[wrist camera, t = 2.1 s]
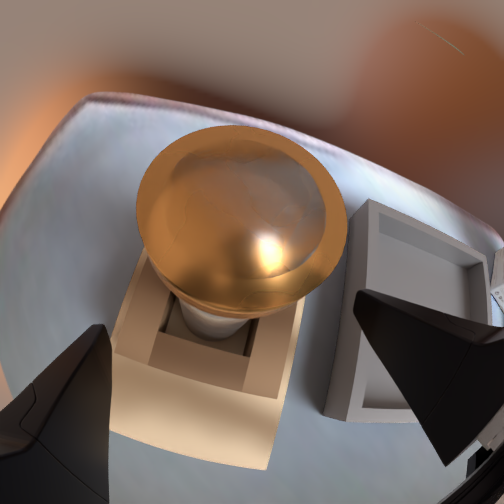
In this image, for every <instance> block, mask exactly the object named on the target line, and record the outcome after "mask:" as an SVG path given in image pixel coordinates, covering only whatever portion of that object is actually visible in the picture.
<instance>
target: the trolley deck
mask: <svg viewBox="0 0 504 504" xmlns="http://www.w3.org/2000/svg"><path fill="white" fill-rule="evenodd" d="M304 302H305V296H304V297H303V298H302V299H300V300H299V301H297V302H296V303H295V304H293V305H292V306H290V307H288V308H286V309H284V310H282V311H280V312H277V313H274V314H272V315H269V316H264V317H259V318H251V319H249V320H248V321H247V322H246V323H245V324H244V325H243V326H242V327H240V328H239V329H238V330H237V331H236V332H235V333H234V334H233V335H232V336H230V337H229V338H227V339H225V340H222V341H216V342H211V341H205V340H202V339H200V338H198V337H196V336H195V335H194V334H193V333H192V332H191V331H190V330H189V329H188V328H187V326H186V324H185V322H184V319H183V314H182V310H181V306H180V302H179V297H178V296H176V295H175V294H174V293H173V292H172V291H171V290H170V289H169V288H168V287H167V286H166V285H165V284H164V283H163V282H162V280H161V279H160V278H159V276H158V275H157V273H156V272H155V270H154V268H153V266H152V264H151V262H150V260H149V257H148V254H147V252H146V249H145V246H144V248H143V251H142V253H141V256H140V258H139V260H138V263H137V265H136V268H135V271H134V273H133V276H132V278H131V281H130V284H129V286H128V289H127V292H126V294H125V297H124V300H123V303H122V306H121V308H120V311H119V314H118V317H117V320H116V323H115V326H114V329H113V332H112V336H111V339H110V341H111V345H112V397H111V409H110V424H109V430H112V431H114V432H117V433H119V434H122V435H124V436H127V437H129V438H132V439H135V440H138V441H140V442H143V443H146V444H149V445H152V446H155V447H158V448H162V449H165V450H168V451H172V452H175V453H179V454H182V455H186V456H190V457H194V458H198V459H203V460H207V461H212V462H217V463H222V464H227V465H233V466H239V467H245V468H252V469H260V470H266V468H267V465H268V461H269V458H270V454H271V450H272V447H273V443H274V439H275V435H276V432H277V428H278V424H279V420H280V416H281V412H282V408H283V403H284V399H285V395H286V391H287V386H288V382H289V377H290V373H291V368H292V363H293V359H294V354H295V349H296V344H297V339H298V334H299V329H300V324H301V318H302V313H303V307H304Z"/></svg>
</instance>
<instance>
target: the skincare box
mask: <svg viewBox="0 0 504 504" xmlns="http://www.w3.org/2000/svg"><path fill="white" fill-rule="evenodd" d="M490 292H491V294H492V295H493V296H494V297H495V299H496V301H497V302H498V304H499V306H500V308H501V309H502V311H503V312H504V247H503V248H502V249H500V250H499V251H497V252H496V253H495V260H494V267H493V274H492V280H491V286H490Z"/></svg>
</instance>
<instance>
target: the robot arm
mask: <svg viewBox="0 0 504 504" xmlns="http://www.w3.org/2000/svg"><path fill="white" fill-rule="evenodd" d="M353 314H354V316H355V318H356V320H357V322H358V323H359V325H360V327H361V329H362V331H363V333H364V335H365V337H366V339H367V340H368V342H369V344H370V346H371V347H372V349H373V350H374V352H375V353H376V355H377V356H378V358H379V359H380V361H381V362H382V364H383V365H384V367H385V369H386V370H387V372H388V373H389V375H390V376H391V378H392V379H393V381H394V382H395V384H396V386H397V387H398V389H399V390H400V392H401V394H402V395H403V397H404V398H405V400H406V402H407V403H408V405H409V406H410V408H411V410H412V411H413V413H414V415H415V416H416V418H417V419H418V421H419V423H420V424H421V425H422V428H423V430H424V431H425V433H426V435H427V437H428V438H429V440H430V442H431V443H432V445H433V447H434V449H435V450H436V452H437V454H438V456H439V457H440V459H441V461H442V463H443V464H444V466H445V467H446V466H448V465H449V464H450V463H451V462H453V461H454V460H455V459H456V458H457V457H458V456H460V455H461V454H462V453H463V452H464V451H465V450H467V449H468V448H469V447H470V446H471V445H472V444H473V443H474V442H475V441H476V440H478V441H479V442H480V443H481V445H482V447H481V448H480V449H479V450H478V451H476V452H475V453H474V454H473V455H472V456H471V457H470V458H469V459H468V464H467V474H466V480H465V481H463V482H462V483H461V484H460V485H459V486H458V487H457V488H455V489H454V490H453V491H452V492H451V493H449V494H448V495H447V496H446V497H445V498H443V499H442V500H441V501H439V502H438V503H437V504H504V327H496V326H491V325H487V324H483V323H479V322H475V321H471V320H467V319H464V318H460V317H457V316H453V315H450V314H447V313H443V312H440V311H437V310H434V309H431V308H428V307H425V306H421V305H418V304H415V303H412V302H409V301H406V300H402V299H399V298H396V297H393V296H390V295H386V294H383V293H380V292H377V291H374V290H371V289H361V290H358V291H357V292H356V295H355V300H354V305H353ZM111 397H112V345H111V341H110V339H109V336H108V333H107V330H106V327H105V325H103V324H94V325H92V326H91V327H89V328H88V329H87V330H86V331H85V332H84V333H83V334H82V335H81V336H80V337H78V338H77V339H76V340H75V341H74V342H73V343H72V344H71V345H70V346H69V347H68V348H67V349H66V350H64V351H63V352H62V353H61V354H60V355H59V356H58V357H57V358H56V359H55V360H54V361H53V362H52V363H51V364H50V365H49V366H48V367H47V368H46V369H45V370H44V371H42V372H41V373H40V374H39V375H38V376H37V377H36V378H35V379H34V380H33V383H30V384H29V385H28V386H27V387H26V388H25V389H24V390H23V391H22V392H21V393H20V394H19V395H18V396H17V397H16V398H15V399H14V400H13V401H12V402H10V404H8V405H7V406H6V407H5V408H4V409H2V411H0V504H109V481H108V449H109V424H110V409H111Z"/></svg>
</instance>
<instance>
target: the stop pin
mask: <svg viewBox="0 0 504 504" xmlns="http://www.w3.org/2000/svg"><path fill="white" fill-rule="evenodd" d="M136 217H137V223H138V228H139V232H140V235H141V238H142V240H143V243H144V246H145V249H146V252H147V254H148V257H149V260H150V262H151V264H152V266H153V268H154V270H155V272H156V273H157V275H158V276H159V278H160V279H161V280H162V282H163V283H164V284H165V285H166V286H167V287H168V288H169V289H170V290H171V291H172V292H173V293H174V294H175V295H176V296H178V297H179V302H180V306H181V310H182V314H183V319H184V322H185V324H186V326H187V328H188V329H189V330H190V331H191V332H192V333H193V334H194V335H195V336H196V337H198V338H200V339H202V340H205V341H211V342H216V341H222V340H225V339H227V338H229V337H230V336H232V335H233V334H234V333H235V332H236V331H237V330H238V329H239V328H240V327H242V326H243V325H244V324H245V323H246V322H247V321H248V320H249V319H251V318H259V317H264V316H269V315H272V314H274V313H277V312H280V311H282V310H284V309H286V308H288V307H290V306H292V305H293V304H295V303H296V302H297V301H299V300H300V299H302V298H303V297H304V296H306V295H307V294H308V293H310V292H311V291H312V290H314V289H315V288H316V287H318V286H319V285H320V284H321V283H322V282H323V281H324V280H325V279H326V278H327V277H328V276H329V275H330V274H331V272H332V271H333V270H334V268H335V267H336V265H337V264H338V262H339V259H340V257H341V255H342V253H343V250H344V246H345V243H346V237H347V215H346V208H345V205H344V201H343V198H342V196H341V193H340V191H339V189H338V187H337V185H336V183H335V181H334V180H333V178H332V176H331V175H330V174H329V172H328V171H327V170H326V168H325V167H324V166H323V165H322V164H321V163H320V162H319V161H318V160H317V159H316V158H315V157H314V156H313V155H312V154H311V153H309V152H308V151H307V150H305V149H304V148H303V147H301V146H300V145H298V144H296V143H295V142H293V141H291V140H290V139H287V138H285V137H283V136H281V135H279V134H276V133H273V132H270V131H267V130H263V129H259V128H255V127H248V126H237V125H228V126H216V127H210V128H206V129H201V130H198V131H195V132H192V133H190V134H187V135H185V136H183V137H181V138H179V139H178V140H176V141H175V142H173V143H171V144H170V145H169V146H167V147H166V148H165V149H164V150H163V151H161V152H160V153H159V155H158V156H157V157H156V158H155V159H154V160H153V161H152V163H151V164H150V166H149V167H148V169H147V170H146V172H145V174H144V176H143V178H142V180H141V183H140V187H139V190H138V195H137V202H136Z"/></svg>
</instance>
